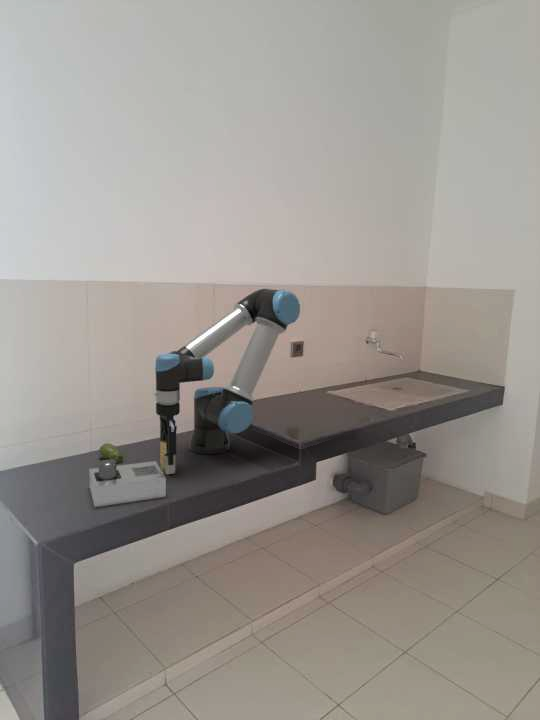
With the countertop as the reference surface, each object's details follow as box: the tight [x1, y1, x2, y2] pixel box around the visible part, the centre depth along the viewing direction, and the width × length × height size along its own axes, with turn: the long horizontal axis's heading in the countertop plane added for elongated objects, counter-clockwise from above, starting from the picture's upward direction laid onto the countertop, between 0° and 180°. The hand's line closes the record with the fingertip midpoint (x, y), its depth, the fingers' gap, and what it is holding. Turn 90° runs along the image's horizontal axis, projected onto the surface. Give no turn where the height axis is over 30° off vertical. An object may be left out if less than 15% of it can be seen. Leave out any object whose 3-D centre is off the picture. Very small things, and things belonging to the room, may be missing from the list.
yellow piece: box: [159, 440, 177, 475], centre depth 173 cm, size 5×5×10 cm
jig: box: [88, 459, 167, 508], centre depth 156 cm, size 20×14×10 cm
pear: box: [98, 442, 124, 464], centre depth 182 cm, size 6×5×10 cm
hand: (168, 470), depth 173 cm, fingers closed on yellow piece, 5 cm apart
